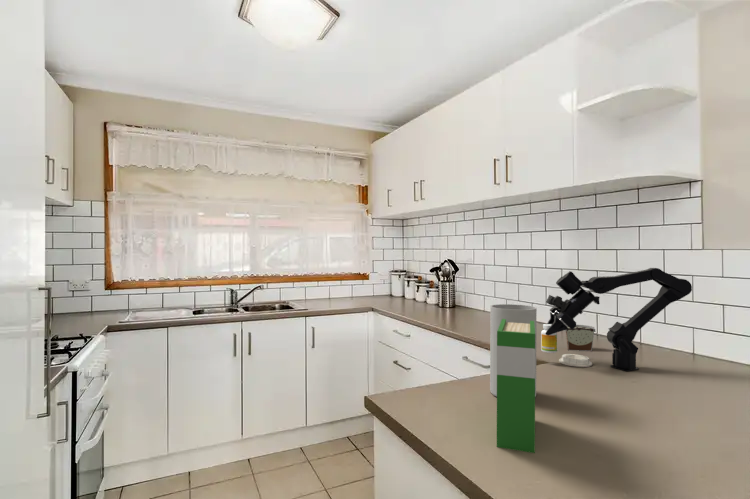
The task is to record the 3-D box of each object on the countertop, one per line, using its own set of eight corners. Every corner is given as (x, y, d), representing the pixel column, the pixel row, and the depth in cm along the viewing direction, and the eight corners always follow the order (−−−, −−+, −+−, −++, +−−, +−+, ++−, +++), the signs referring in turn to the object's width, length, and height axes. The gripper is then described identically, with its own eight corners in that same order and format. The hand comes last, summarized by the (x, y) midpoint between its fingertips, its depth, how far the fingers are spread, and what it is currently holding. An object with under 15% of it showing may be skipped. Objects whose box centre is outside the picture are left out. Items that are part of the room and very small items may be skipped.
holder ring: (599, 365, 150) (599, 359, 150) (577, 368, 146) (577, 362, 146) (573, 358, 160) (573, 352, 160) (552, 360, 156) (552, 355, 156)
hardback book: (501, 415, 102) (502, 318, 103) (533, 420, 100) (534, 320, 100) (496, 446, 86) (497, 331, 86) (534, 453, 83) (535, 333, 83)
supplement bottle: (558, 353, 149) (558, 326, 149) (542, 352, 150) (542, 325, 150) (555, 349, 154) (555, 323, 154) (539, 349, 155) (539, 323, 155)
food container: (589, 347, 178) (589, 324, 178) (595, 351, 172) (595, 327, 172) (559, 347, 179) (559, 324, 179) (564, 350, 173) (564, 326, 173)
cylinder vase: (506, 404, 110) (506, 310, 110) (481, 389, 122) (482, 304, 123) (545, 400, 114) (546, 309, 114) (518, 386, 126) (518, 303, 126)
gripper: (555, 285, 160) (525, 313, 162) (565, 289, 142) (531, 320, 144) (577, 306, 158) (546, 334, 161) (591, 313, 140) (556, 344, 142)
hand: (544, 332), depth 152 cm, fingers closed on supplement bottle, 5 cm apart
